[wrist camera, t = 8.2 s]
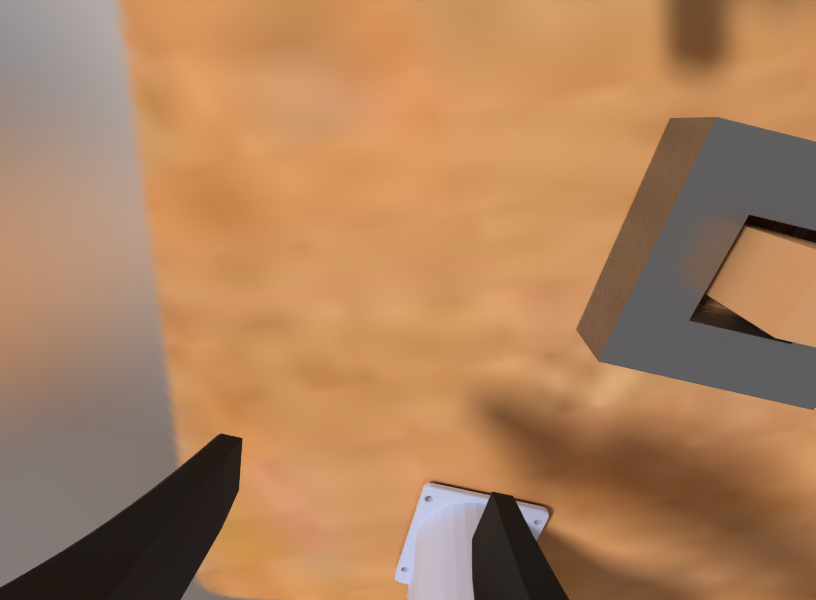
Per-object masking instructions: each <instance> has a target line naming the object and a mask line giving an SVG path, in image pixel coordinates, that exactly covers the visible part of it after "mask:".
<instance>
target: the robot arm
mask: <svg viewBox="0 0 816 600" xmlns="http://www.w3.org/2000/svg"><path fill="white" fill-rule="evenodd" d="M241 452H242V438H239V437H234V436H230V435H225V434H219V435H218V436H216V437H215V438H214V439H213V440H211V441H210V442H209V443H208V444H207V445H206V446H205V447H203V448H202V449H201V450H200V451H199V452H198V453H196V454H195V455H194V456H193V457H192V458H190V459H189V460H188V461H187V462H186V463H184V464H183V465H182V466H181V467H179V468H178V469H177V470H176V471H175V472H173V473H172V474H171V475H170V476H168V477H167V478H166V479H164V480H163V481H162V482H161V483H159V484H158V485H157V486H155V487H154V488H153V489H152V490H150V491H149V492H148V493H146V494H145V495H144V496H142V497H141V498H140V499H138V500H137V501H136V502H134V503H133V504H132V505H130V506H129V507H127V508H126V509H124V510H123V511H122V512H120V513H119V514H117V515H116V516H115V517H113V518H112V519H111V520H109V521H108V522H106V523H105V524H103V525H102V526H100V527H99V528H97V529H96V530H94V531H93V532H91V533H90V534H88V535H87V536H85V537H84V538H82V539H81V540H79V541H78V542H76V543H74V544H73V545H71V546H70V547H68V548H66V549H65V550H63V551H62V552H60V553H58V554H57V555H55V556H53V557H52V558H50V559H48V560H47V561H45V562H43V563H42V564H40V565H38V566H37V567H35V568H33V569H32V570H30V571H28V572H27V573H25V574H23V575H21V576H20V577H18V578H16V579H14V580H13V581H11V582H9V583H7V584H6V585H4V586H2V587H0V600H181V598H182V596H183V594H184V593H185V591H186V589H187V588H188V586H189V584H190V582H191V581H192V579H193V577H194V575H195V574H196V572H197V570H198V569H199V567H200V565H201V563H202V562H203V560H204V558H205V556H206V555H207V553H208V551H209V549H210V548H211V546H212V544H213V543H214V541H215V539H216V537H217V535H218V534H219V532H220V530H221V528H222V526H223V524H224V522H225V520H226V518H227V516H228V513H229V511H230V509H231V507H232V504H233V502H234V500H235V498H236V495H237V493H238V491H239V480H240V466H241ZM427 496H431V497H427ZM548 518H549V514H548V510H547V509H546V508H545V507H542V506H538V505H533V504H529V503H524V502H519V501H515V499H514V497H513V496H510V495H505V494H501V493H496V492H492V493H491V495H487V494H482V493H477V492H472V491H468V490H463V489H458V488H454V487H449V486H444V485H440V484H435V483H427V484H425V485H424V487H423V489H422V492H421V495H420V498H419V501H418V504H417V507H416V510H415V513H414V517H413V520H412V523H411V526H410V529H409V532H408V535H407V538H406V541H405V544H404V547H403V550H402V553H401V556H400V559H399V562H398V565H397V568H396V571H395V580H396V581H398V582H400V583H404V584H408V599H407V600H569V598H568V597H567V595H566V593H565V592H564V590H563V588H562V587H561V585H560V583H559V581H558V580H557V578H556V576H555V574H554V572H553V571H552V569H551V567H550V565H549V564H548V562H547V560H546V558H545V556H544V555H543V553H542V551H541V549H540V547H539V545H538V543H537V539H538V537H539V535H540V533H541V531H542V529H543V528H544V526H545V524H546V522H547V520H548ZM537 519H538V520H537Z"/></svg>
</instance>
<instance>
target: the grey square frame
mask: <svg viewBox="0 0 816 600" xmlns="http://www.w3.org/2000/svg"><path fill="white" fill-rule="evenodd" d="M749 215H753V216H757V217H761V218H765V219H769V220H774V221H778V222H782V223H786V224H790V225H794V226H796V228H795V229H794V231H793V232H792V234H791V236H794V237H797V238H800V239H804V240H807V241H810V242H813V243H816V142H815V141H811V140H807V139H803V138H799V137H795V136H791V135H787V134H783V133H779V132H775V131H771V130H766V129H762V128H758V127H754V126H750V125H746V124H742V123H738V122H734V121H730V120H726V119H722V118H718V117H705V118H670V120H669V123H668V125H667V127H666V129H665V132H664V134H663V136H662V138H661V141H660V143H659V145H658V147H657V150H656V152H655V154H654V156H653V159H652V161H651V163H650V165H649V168H648V170H647V172H646V174H645V177H644V179H643V181H642V183H641V186H640V188H639V190H638V192H637V194H636V197H635V199H634V201H633V203H632V206H631V208H630V210H629V212H628V215H627V217H626V219H625V221H624V224H623V226H622V228H621V230H620V233H619V235H618V237H617V239H616V242H615V244H614V246H613V248H612V251H611V253H610V255H609V257H608V260H607V262H606V264H605V266H604V269H603V271H602V273H601V275H600V278H599V280H598V282H597V284H596V287H595V289H594V291H593V293H592V296H591V298H590V300H589V302H588V305H587V307H586V309H585V311H584V314H583V316H582V318H581V320H580V323H579V325H578V327H577V329H576V330H577V331H578V332H579V334H580V335H581V337H582V338H583V340H584V341H585V343H586V344H587V346H588V347H589V348H590V350H591V351H592V353H593V354H594V356H595V357H596V359H597V360H598V361H599V362H604V363H608V364H613V365H617V366H621V367H626V368H630V369H635V370H639V371H643V372H648V373H652V374H657V375H661V376H665V377H670V378H674V379H679V380H683V381H687V382H692V383H696V384H701V385H705V386H710V387H714V388H718V389H723V390H727V391H732V392H736V393H740V394H745V395H749V396H754V397H758V398H762V399H767V400H771V401H776V402H780V403H785V404H789V405H793V406H798V407H802V408H807V409H811V410H813V409H814V408H815V407H816V347H812V346H807V345H803V344H799V343H795V342H790V341H786V340H782V339H778V338H774V337H773V336H771V335H770V334H768V333H766V332H765V331H763V330H762V329H760V328H759V327H757V326H755V325H754V324H752V323H751V322H749V321H747V320H746V319H744V318H743V317H741V316H739V315H738V314H736V313H735V312H733V311H729V310H724V309H720V308H716V307H711V306H707V305H703V304H699V302H700V300H701V298H702V297H703V295H704V293H705V291H706V290H707V288H708V286H709V284H710V283H711V281H712V279H713V277H714V276H715V274H716V272H717V270H718V269H719V267H720V265H721V263H722V262H723V260H724V258H725V256H726V254H727V253H728V251H729V249H730V247H731V246H732V244H733V242H734V240H735V239H736V237H737V235H738V233H739V232H740V230H741V228H742V226H743V225H744V223H745V221H746V219H747V217H748V216H749Z"/></svg>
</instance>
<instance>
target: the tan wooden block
mask: <svg viewBox="0 0 816 600" xmlns="http://www.w3.org/2000/svg"><path fill="white" fill-rule="evenodd" d="M705 294H706V295H708V296H709V297H711V298H713V299H714V300H716V301H717V302H719V303H720V304H722V305H724V306H725V307H727V308H728V309H730V310H732V311H733V312H735V313H736V314H738V315H739V316H741V317H743V318H744V319H746V320H747V321H749V322H751V323H752V324H754V325H755V326H757V327H759V328H760V329H762V330H763V331H765V332H766V333H768V334H770V335H771V336H773V337H774V338H778V339H782V340H786V341H790V342H795V343H799V344H803V345H807V346H812V347H816V243H813V242H810V241H807V240H804V239H800V238H797V237H794V236H791V235H788V234H785V233H781V232H778V231H775V230H771V229H767V228H763V227H759V226H755V225H751V224H746V223H744V225H743V226H742V228H741V230H740V232H739V233H738V235H737V237H736V239H735V240H734V242H733V244H732V246H731V247H730V249H729V251H728V253H727V254H726V256H725V258H724V260H723V262H722V263H721V265H720V267H719V269H718V270H717V272H716V274H715V276H714V277H713V279H712V281H711V283H710V284H709V286H708V288H707V290H706V291H705Z"/></svg>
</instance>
